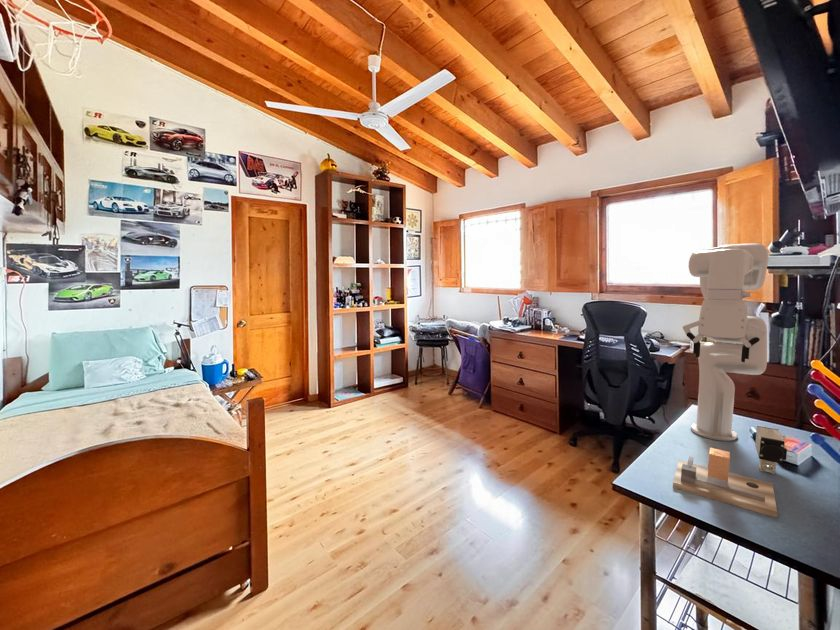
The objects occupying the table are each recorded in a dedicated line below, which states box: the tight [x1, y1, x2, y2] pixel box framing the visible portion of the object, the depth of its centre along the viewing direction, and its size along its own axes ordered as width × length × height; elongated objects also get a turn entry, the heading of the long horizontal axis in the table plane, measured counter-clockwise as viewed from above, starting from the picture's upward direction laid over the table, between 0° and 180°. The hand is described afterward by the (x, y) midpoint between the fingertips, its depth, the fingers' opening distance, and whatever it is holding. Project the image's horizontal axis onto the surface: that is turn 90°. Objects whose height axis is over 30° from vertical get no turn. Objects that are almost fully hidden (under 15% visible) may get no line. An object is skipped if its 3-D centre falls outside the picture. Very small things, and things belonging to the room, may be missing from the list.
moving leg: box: [707, 447, 731, 488], centre depth 97 cm, size 9×4×9 cm, turn 140°
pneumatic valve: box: [754, 425, 788, 475], centre depth 105 cm, size 6×12×12 cm, turn 144°
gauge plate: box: [672, 455, 778, 518], centre depth 98 cm, size 14×20×5 cm
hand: (719, 358), depth 102 cm, fingers open, 9 cm apart
